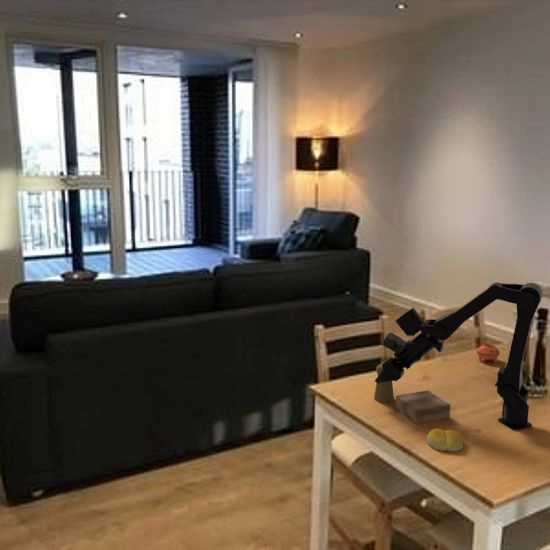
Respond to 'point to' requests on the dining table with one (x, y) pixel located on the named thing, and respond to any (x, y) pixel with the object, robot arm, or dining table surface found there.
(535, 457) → the dining table surface
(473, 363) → the dining table surface
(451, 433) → the bread roll
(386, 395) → the cork
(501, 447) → the dining table surface
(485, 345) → the pot
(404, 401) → the walnut block
